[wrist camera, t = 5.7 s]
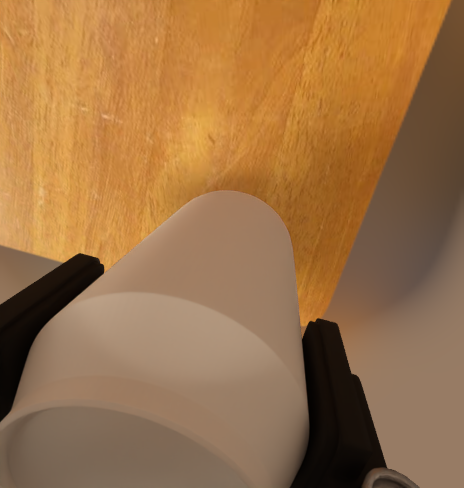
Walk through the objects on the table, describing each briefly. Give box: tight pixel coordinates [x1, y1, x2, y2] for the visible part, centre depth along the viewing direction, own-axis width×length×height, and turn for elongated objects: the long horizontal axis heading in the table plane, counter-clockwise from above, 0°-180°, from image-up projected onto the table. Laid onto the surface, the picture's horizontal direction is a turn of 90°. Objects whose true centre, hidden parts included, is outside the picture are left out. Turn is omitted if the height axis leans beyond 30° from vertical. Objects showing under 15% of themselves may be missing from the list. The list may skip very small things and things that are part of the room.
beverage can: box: [0, 190, 309, 488], centre depth 11 cm, size 6×6×12 cm
